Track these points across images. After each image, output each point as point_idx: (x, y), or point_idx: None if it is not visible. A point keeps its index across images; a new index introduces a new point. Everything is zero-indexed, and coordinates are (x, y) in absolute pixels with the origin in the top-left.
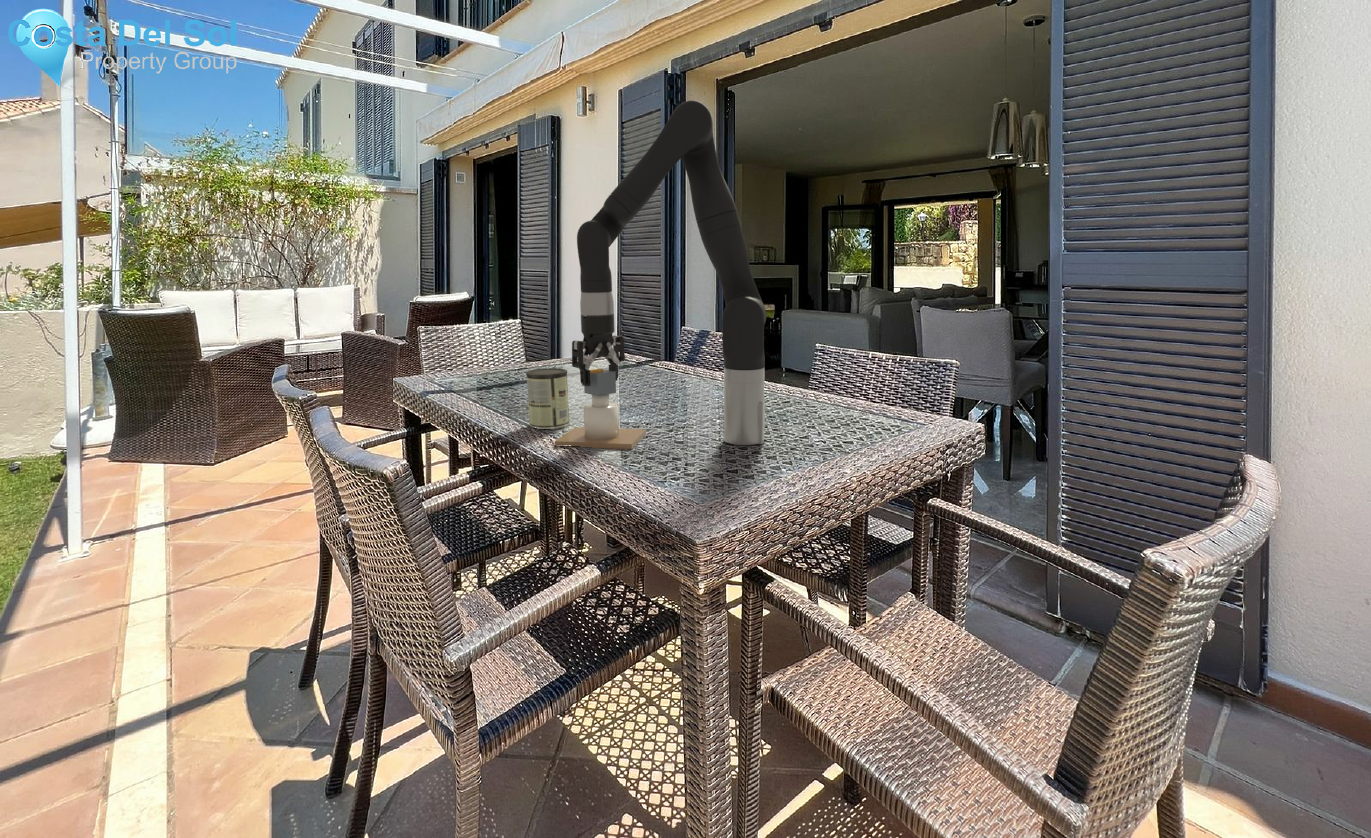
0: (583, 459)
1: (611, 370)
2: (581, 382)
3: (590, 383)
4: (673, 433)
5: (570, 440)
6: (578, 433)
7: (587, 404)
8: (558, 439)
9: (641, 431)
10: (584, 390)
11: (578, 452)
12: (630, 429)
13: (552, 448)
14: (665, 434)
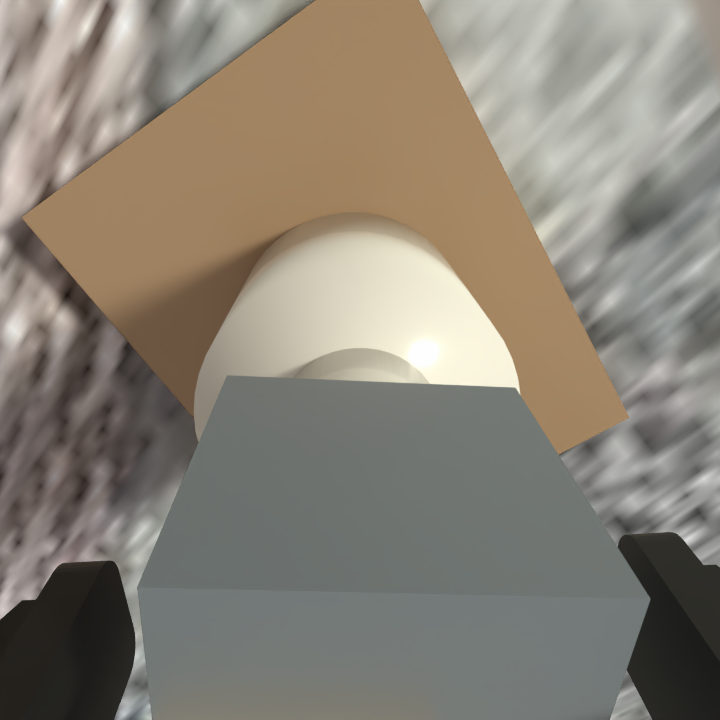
0: (42, 526)
1: (704, 709)
2: (8, 628)
3: (125, 684)
4: (711, 489)
5: (118, 282)
6: (273, 161)
7: (321, 270)
8: (65, 196)
9: (572, 431)
10: (220, 391)
11: (88, 418)
12: (578, 348)
13: (2, 238)
14: (670, 474)
